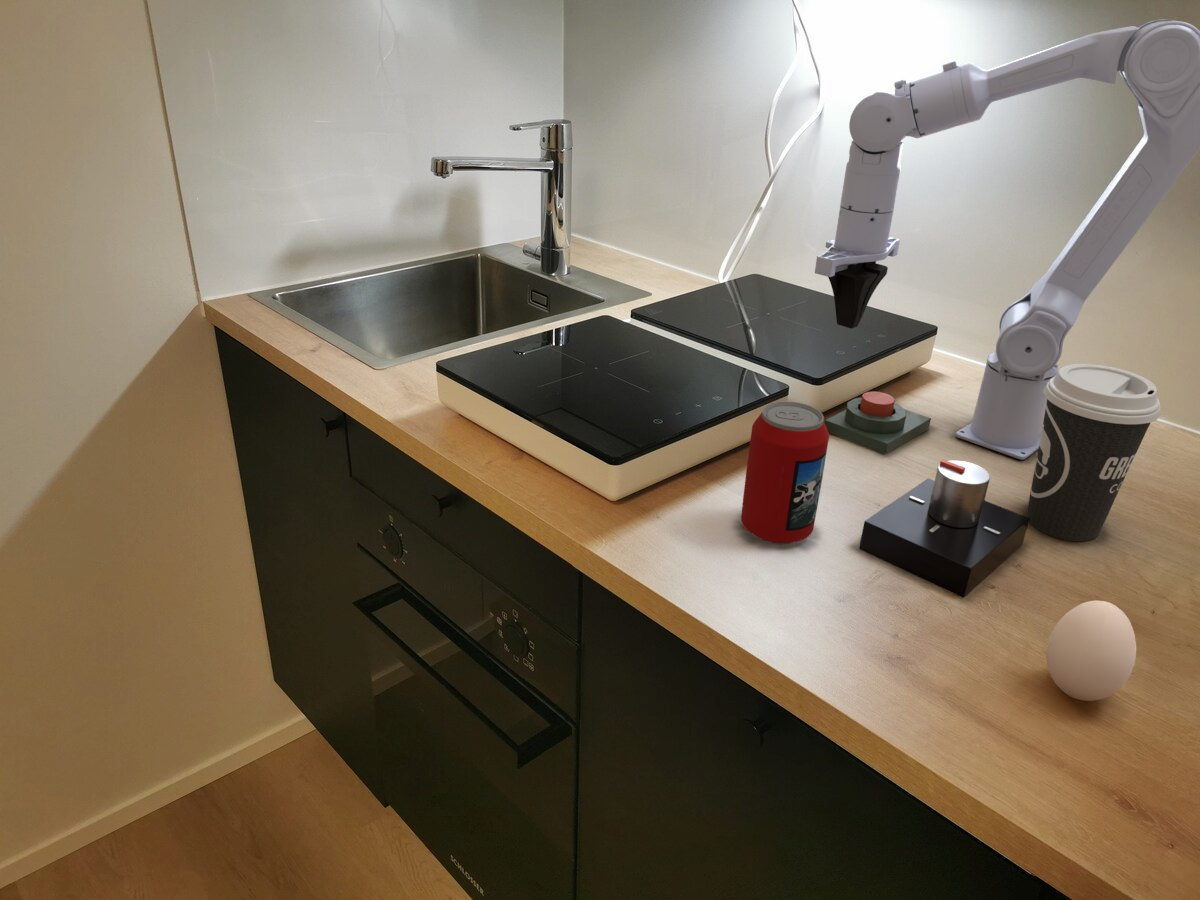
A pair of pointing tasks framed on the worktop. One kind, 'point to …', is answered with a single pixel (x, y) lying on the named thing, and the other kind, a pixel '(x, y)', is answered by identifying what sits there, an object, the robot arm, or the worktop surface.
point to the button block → (877, 427)
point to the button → (877, 404)
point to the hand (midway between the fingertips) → (847, 325)
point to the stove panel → (942, 541)
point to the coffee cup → (1087, 446)
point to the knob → (958, 493)
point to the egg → (1091, 651)
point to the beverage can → (784, 472)
